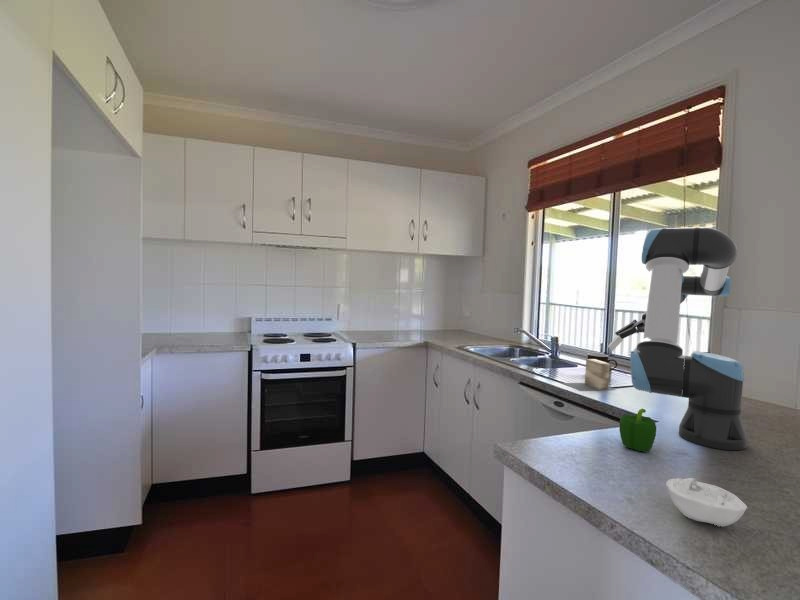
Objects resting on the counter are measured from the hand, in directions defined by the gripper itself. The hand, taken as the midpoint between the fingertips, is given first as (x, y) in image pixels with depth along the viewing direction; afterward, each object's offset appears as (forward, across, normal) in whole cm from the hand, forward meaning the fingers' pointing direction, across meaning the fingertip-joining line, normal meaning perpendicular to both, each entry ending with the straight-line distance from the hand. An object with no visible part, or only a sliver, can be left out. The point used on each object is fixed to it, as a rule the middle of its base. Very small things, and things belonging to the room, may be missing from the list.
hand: (621, 351), depth 175 cm
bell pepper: (+39, -58, +18) cm, 72 cm away
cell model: (+48, -89, +27) cm, 104 cm away
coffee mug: (+9, +16, -12) cm, 22 cm away
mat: (+20, 0, 0) cm, 20 cm away
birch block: (+17, 0, -2) cm, 17 cm away
